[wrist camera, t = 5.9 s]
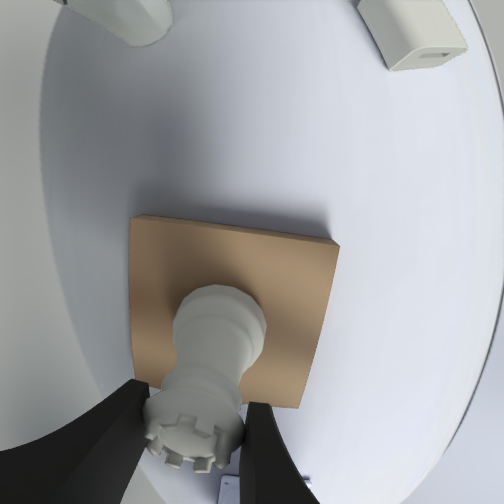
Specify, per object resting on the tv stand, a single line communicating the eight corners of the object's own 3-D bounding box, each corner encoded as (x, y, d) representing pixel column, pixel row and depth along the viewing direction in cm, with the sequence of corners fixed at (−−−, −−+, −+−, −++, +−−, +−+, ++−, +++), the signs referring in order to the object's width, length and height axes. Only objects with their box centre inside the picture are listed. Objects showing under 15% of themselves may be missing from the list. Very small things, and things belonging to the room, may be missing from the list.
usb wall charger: (385, 72, 12) (417, 46, 8) (335, -18, 11) (350, -55, 7) (437, 67, 12) (473, 47, 8) (388, -19, 10) (410, -50, 7)
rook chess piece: (285, 320, 14) (301, 452, 6) (228, 372, 15) (205, 497, 7) (214, 261, 13) (158, 366, 6) (162, 322, 14) (92, 434, 7)
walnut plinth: (296, 393, 17) (298, 408, 16) (143, 369, 17) (135, 382, 16) (332, 239, 15) (339, 246, 13) (142, 214, 15) (130, 218, 13)
